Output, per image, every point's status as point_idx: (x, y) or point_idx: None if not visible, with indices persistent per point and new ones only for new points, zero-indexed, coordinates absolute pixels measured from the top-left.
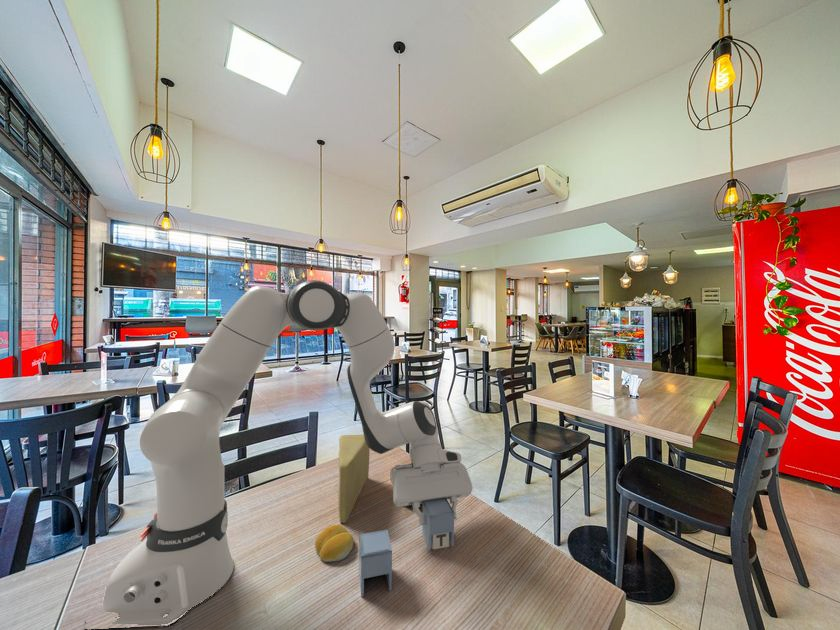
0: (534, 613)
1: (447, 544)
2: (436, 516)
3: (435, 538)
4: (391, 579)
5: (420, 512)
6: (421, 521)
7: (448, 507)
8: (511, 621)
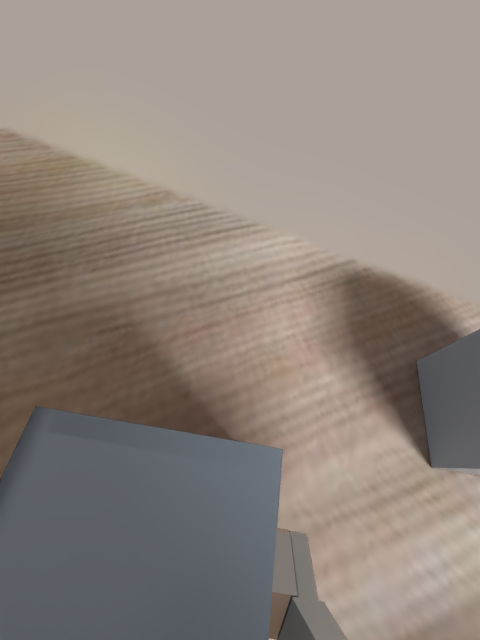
0: (98, 179)
1: None
2: (214, 437)
3: None
4: (442, 348)
5: (316, 626)
6: (305, 541)
7: (23, 506)
8: (158, 187)
